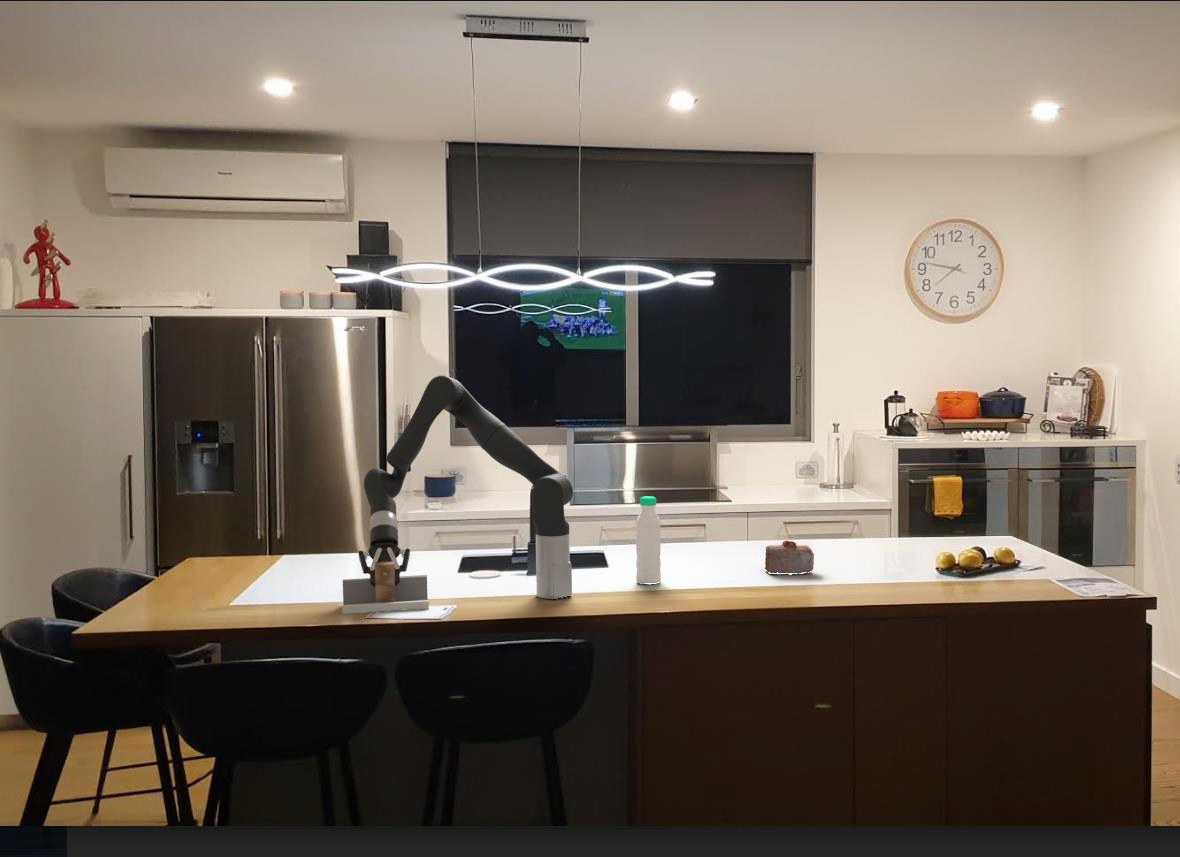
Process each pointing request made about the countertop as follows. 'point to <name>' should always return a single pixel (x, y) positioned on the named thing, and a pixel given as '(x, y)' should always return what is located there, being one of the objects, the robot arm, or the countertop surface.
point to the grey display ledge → (363, 600)
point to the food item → (789, 558)
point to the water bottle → (648, 542)
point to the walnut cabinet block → (385, 581)
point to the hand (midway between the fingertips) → (385, 584)
